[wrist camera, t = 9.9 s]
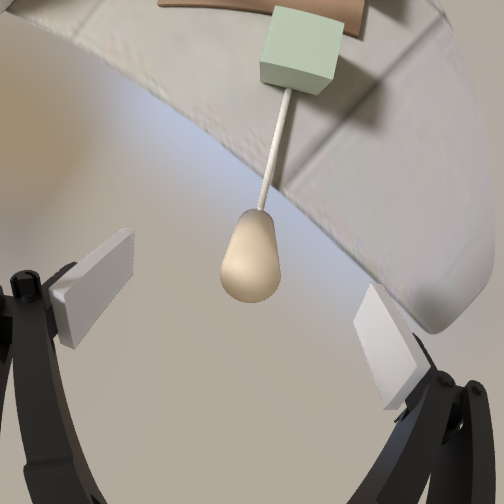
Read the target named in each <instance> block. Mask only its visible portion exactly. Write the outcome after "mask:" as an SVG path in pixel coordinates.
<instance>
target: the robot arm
mask: <svg viewBox="0 0 504 504" xmlns="http://www.w3.org/2000/svg"><path fill="white" fill-rule="evenodd" d="M134 234H135V231H134V230H130V229H126V228H122V229H120V230H119V231H118V232H116V233H115V234H114V235H112V236H111V237H110V238H108V239H107V240H106V241H105V242H103V243H102V244H101V245H99V246H98V247H97V248H96V249H94V250H93V251H92V252H91V253H90V254H88V255H87V256H86V257H85V258H83V259H82V260H81V261H80V262H79V263H77V262H72V263H70V264H67V265H65V266H64V267H63V268H61V269H60V270H59V272H57V273H55V274H54V276H52V277H51V278H49V279H48V280H47V281H46V282H45V283H44V284H42V285H41V282H40V277H39V274H38V273H37V272H35V271H32V270H24V271H20V272H18V273H16V274H14V275H13V276H12V277H11V279H10V283H11V288H12V292H13V296H7V295H4V293H3V289H2V287H1V286H0V431H1V420H2V412H3V404H4V397H5V391H6V386H7V380H8V375H9V370H10V365H11V361H12V357H13V376H14V387H15V398H16V406H17V412H18V420H19V425H20V431H21V436H22V441H23V446H24V451H25V455H26V459H27V464H26V465H25V466H24V470H23V472H24V477H25V480H26V484H27V487H28V490H29V494H30V497H31V500H32V502H33V504H107V502H106V500H105V499H104V497H103V495H102V494H101V492H100V490H99V489H98V487H97V485H96V483H95V480H94V478H93V476H92V474H91V471H90V469H89V467H88V464H87V462H86V459H85V457H84V454H83V452H82V449H81V446H80V443H79V440H78V437H77V435H76V431H75V428H74V425H73V422H72V419H71V415H70V412H69V408H68V405H67V401H66V397H65V393H64V389H63V385H62V381H61V376H60V371H59V366H58V361H57V356H56V350H55V344H54V341H53V338H54V337H55V336H56V335H57V333H58V336H59V340H60V343H61V344H63V345H65V346H67V347H70V348H72V349H75V348H76V347H77V346H78V344H79V343H80V342H81V340H82V339H83V338H84V336H85V335H86V333H87V332H88V331H89V330H90V328H91V327H92V326H93V324H94V323H95V322H96V320H97V319H98V318H99V316H100V315H101V314H102V313H103V311H104V310H105V309H106V308H107V306H108V305H109V304H110V303H111V301H112V300H113V299H114V297H115V296H116V295H117V294H118V292H119V291H120V290H121V289H122V288H123V286H124V285H125V284H126V283H127V282H128V280H129V279H130V278H131V277H132V275H133V255H134ZM353 323H354V326H355V329H356V332H357V334H358V337H359V339H360V342H361V345H362V348H363V350H364V353H365V356H366V358H367V361H368V364H369V367H370V370H371V373H372V376H373V379H374V381H375V384H376V387H377V390H378V393H379V397H380V400H381V402H382V406H383V409H384V410H391V409H392V410H393V409H398V408H399V407H400V406H401V404H402V403H403V402H404V401H405V403H406V405H407V408H406V409H405V410H404V411H403V412H402V413H401V415H400V416H399V417H398V418H397V419H396V420H395V421H394V422H395V423H396V422H397V421H398V422H397V424H396V426H395V428H394V430H393V432H392V434H391V436H390V437H389V439H388V441H387V443H386V445H385V446H384V448H383V450H382V451H381V453H380V455H379V457H378V458H377V460H376V461H375V463H374V465H373V466H372V468H371V469H370V471H369V472H368V474H367V476H366V477H365V479H364V480H363V482H362V483H361V484H360V486H359V487H358V489H357V490H356V492H355V493H354V494H353V496H352V497H351V499H350V500H349V501H348V503H347V504H418V501H419V499H420V497H421V495H422V493H423V491H424V488H425V486H426V484H427V481H428V479H429V476H430V474H431V476H430V483H429V490H428V495H427V500H426V504H495V492H496V472H495V451H494V440H493V430H492V423H491V415H490V409H489V403H488V397H487V393H486V390H485V388H484V387H483V385H482V384H481V383H480V382H477V381H474V380H471V381H469V382H468V383H467V384H466V386H465V387H461V386H457V385H455V381H454V379H453V378H452V377H451V376H450V375H449V374H448V373H446V372H444V371H438V370H437V368H436V366H435V364H434V363H433V361H432V359H431V357H430V355H429V354H427V353H428V352H427V350H426V349H425V348H424V345H423V343H422V342H421V340H420V339H419V338H418V337H417V336H416V335H415V334H414V333H412V332H411V331H410V329H409V327H408V325H407V324H406V322H405V321H404V319H403V317H402V315H401V314H400V312H399V311H398V309H397V307H396V306H395V304H394V303H393V301H392V299H391V298H390V296H389V295H388V293H387V292H386V290H385V289H384V287H383V286H382V285H381V284H376V283H370V286H369V287H368V290H367V292H366V294H365V296H364V299H363V301H362V303H361V305H360V307H359V310H358V312H357V314H356V316H355V318H354V320H353ZM462 423H463V425H462V427H461V429H460V425H461V424H462Z"/></svg>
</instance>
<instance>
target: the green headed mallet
mask: <svg viewBox="0 0 504 504" xmlns="http://www.w3.org/2000/svg"><path fill="white" fill-rule="evenodd" d="M343 29H344V23H342V22H339V21H336V20H333V19H329V18H326V17H323V16H319V15H315V14H312V13H308V12H304V11H300V10H295V9H291V8H286V7H282V6H276V5H275V8H274V11H273V15H272V18H271V22H270V25H269V29H268V32H267V36H266V39H265V43H264V47H263V51H262V54H261V58H260V81H261V82H264V83H269V84H273V85H278V86H282V87H286V89H285V92H284V96H283V101H282V105H281V109H280V113H279V117H278V121H277V125H276V130H275V134H274V138H273V142H272V146H271V150H270V154H269V159H268V163H267V167H266V171H265V175H264V180H263V184H262V188H261V193H260V196H259V201H258V205H257V209H250V210H247V211H245V212H244V213H243V214H242V215H241V216H240V218H239V220H238V222H237V225H236V228H235V231H234V233H233V236H232V239H231V241H230V244H229V247H228V250H227V252H226V256H225V258H224V261H223V264H222V267H221V271H220V279H221V283H222V286H223V288H224V289H225V291H226V292H227V293H228V294H229V295H230V296H232V297H233V298H235V299H236V300H238V301H242V302H246V303H256V302H260V301H263V300H266V299H267V298H269V297H270V296H271V295H272V294H274V292H275V291H276V290H277V288H278V286H279V283H280V278H281V274H280V265H279V258H278V251H277V243H276V237H275V229H274V223H273V220H272V218H271V216H270V215H269V214H268V213H266V212H265V211H263V209H264V205H265V201H266V197H267V193H268V189H269V185H270V181H271V176H272V172H273V168H274V164H275V160H276V156H277V152H278V148H279V143H280V139H281V135H282V131H283V127H284V123H285V119H286V114H287V110H288V106H289V102H290V98H291V94H292V90H291V89H294V90H298V91H302V92H305V93H309V94H313V95H316V96H317V95H318V94H319V93H320V92H321V91H322V90H323V89H324V88H325V87H326V86H327V85H328V84H329V83H330V82H331V81H332V80H333V77H334V73H335V68H336V63H337V58H338V54H339V49H340V44H341V39H342V34H343Z"/></svg>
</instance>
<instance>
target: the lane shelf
mask: <svg viewBox="0 0 504 504" xmlns="http://www.w3.org/2000/svg"><path fill="white" fill-rule="evenodd" d="M364 2H365V0H158V3H157V5H158V6H199V7H216V8H228V9H237V10H245V11H252V12H259V13H265V14H271V15H273V11H274V8H275V5H276V6H282V7H286V8H291V9H295V10H300V11H304V12H308V13H312V14H315V15H319V16H323V17H326V18H329V19H333V20H336V21H339V22H342V23H344V29H343V33H345V34H348V35H351V36H354V37H356V38H357V37H358V36H359V32H360V26H361V20H362V14H363V8H364Z"/></svg>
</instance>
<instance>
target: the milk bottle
mask: <svg viewBox="0 0 504 504" xmlns="http://www.w3.org/2000/svg"><path fill="white" fill-rule="evenodd" d="M13 1H14V0H0V14H1V13H2V12H4V11H5V10H6V9H7V8H8V7H9V6H10V5H11V3H12V2H13Z"/></svg>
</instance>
